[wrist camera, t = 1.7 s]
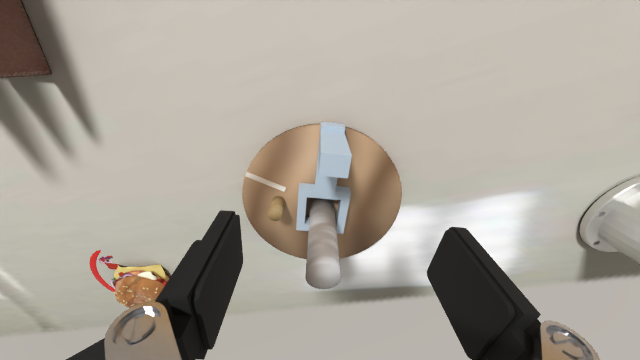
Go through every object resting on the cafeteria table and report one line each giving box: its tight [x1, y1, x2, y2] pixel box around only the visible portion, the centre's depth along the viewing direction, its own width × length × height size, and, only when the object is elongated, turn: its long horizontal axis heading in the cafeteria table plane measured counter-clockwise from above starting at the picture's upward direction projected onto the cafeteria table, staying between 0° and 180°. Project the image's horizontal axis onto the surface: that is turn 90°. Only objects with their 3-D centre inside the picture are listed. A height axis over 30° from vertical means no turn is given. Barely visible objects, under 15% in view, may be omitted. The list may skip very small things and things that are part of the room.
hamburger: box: [90, 250, 170, 308], centre depth 35 cm, size 14×14×6 cm
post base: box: [243, 123, 402, 289], centre depth 25 cm, size 20×20×12 cm
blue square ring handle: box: [296, 122, 352, 234], centre depth 24 cm, size 14×6×8 cm, turn 174°
